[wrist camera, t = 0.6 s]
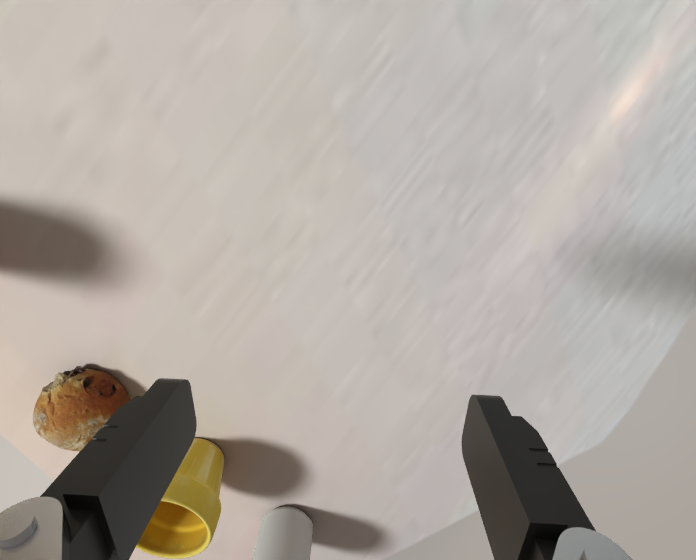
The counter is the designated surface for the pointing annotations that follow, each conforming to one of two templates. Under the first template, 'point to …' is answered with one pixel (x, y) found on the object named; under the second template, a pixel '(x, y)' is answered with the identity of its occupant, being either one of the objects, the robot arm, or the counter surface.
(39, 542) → the robot arm
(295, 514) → the can
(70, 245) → the counter surface
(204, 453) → the plant pot
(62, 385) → the bread roll
